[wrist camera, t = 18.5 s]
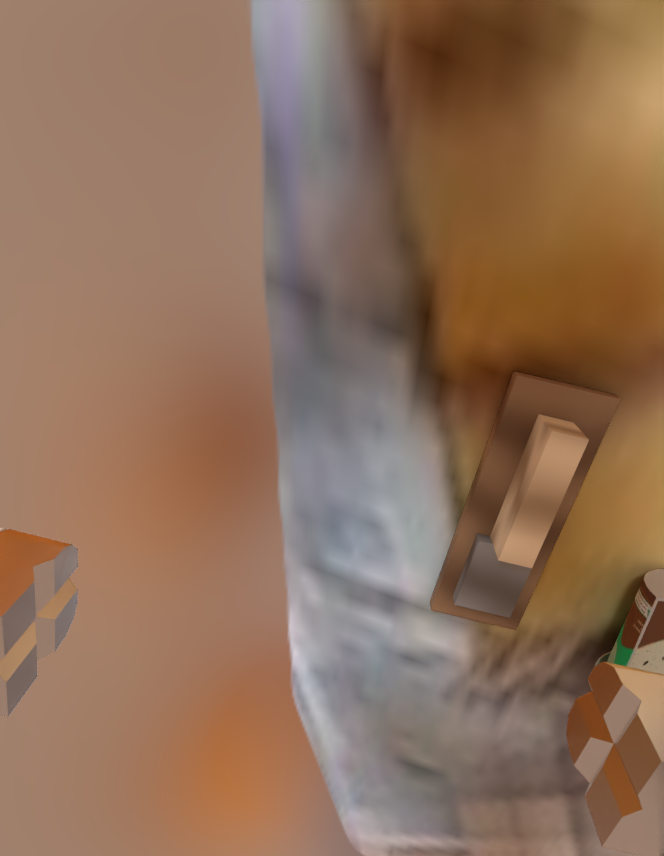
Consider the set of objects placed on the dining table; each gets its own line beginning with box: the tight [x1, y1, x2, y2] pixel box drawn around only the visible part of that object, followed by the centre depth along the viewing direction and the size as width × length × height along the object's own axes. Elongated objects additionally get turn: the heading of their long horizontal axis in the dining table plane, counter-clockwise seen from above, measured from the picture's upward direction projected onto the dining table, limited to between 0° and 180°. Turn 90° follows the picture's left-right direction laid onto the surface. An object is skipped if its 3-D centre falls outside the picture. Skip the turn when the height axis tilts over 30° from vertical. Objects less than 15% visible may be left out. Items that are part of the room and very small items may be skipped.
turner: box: [453, 414, 589, 618], centre depth 38 cm, size 16×4×3 cm, turn 167°
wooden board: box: [430, 371, 620, 630], centre depth 40 cm, size 20×7×1 cm, turn 168°
